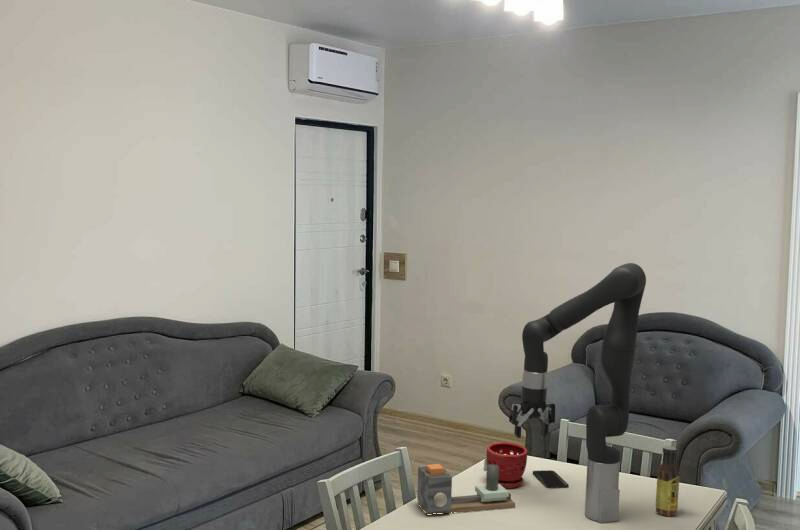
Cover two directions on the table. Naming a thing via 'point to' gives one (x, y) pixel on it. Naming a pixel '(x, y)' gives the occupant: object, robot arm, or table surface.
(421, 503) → the rail
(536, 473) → the phone
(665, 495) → the sauce bottle
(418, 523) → the table surface
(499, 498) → the mint plate with knob
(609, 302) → the robot arm
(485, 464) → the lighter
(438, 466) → the button
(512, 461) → the plant pot
